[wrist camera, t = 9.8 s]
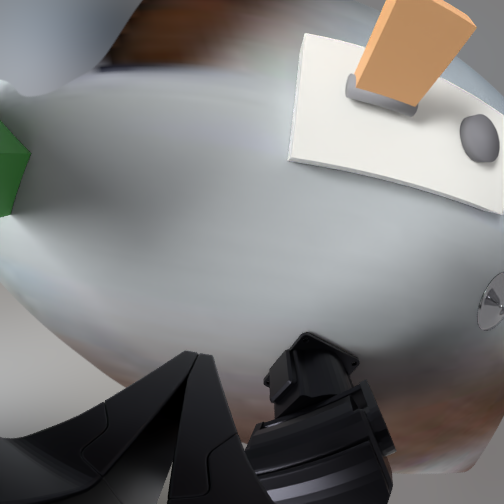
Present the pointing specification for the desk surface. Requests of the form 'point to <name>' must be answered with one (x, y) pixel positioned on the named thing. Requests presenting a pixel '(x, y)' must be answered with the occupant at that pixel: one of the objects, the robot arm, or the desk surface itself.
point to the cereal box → (10, 168)
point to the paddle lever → (408, 53)
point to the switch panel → (390, 131)
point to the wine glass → (492, 304)
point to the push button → (479, 138)
